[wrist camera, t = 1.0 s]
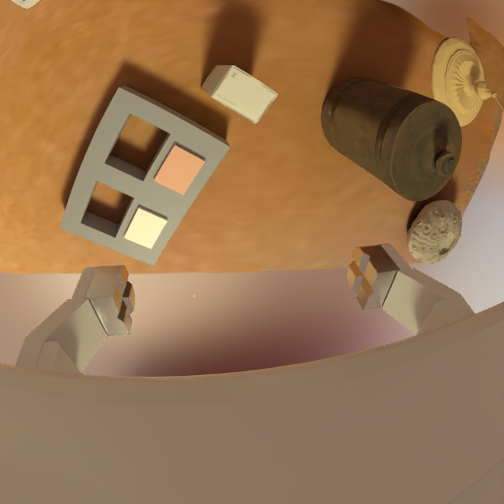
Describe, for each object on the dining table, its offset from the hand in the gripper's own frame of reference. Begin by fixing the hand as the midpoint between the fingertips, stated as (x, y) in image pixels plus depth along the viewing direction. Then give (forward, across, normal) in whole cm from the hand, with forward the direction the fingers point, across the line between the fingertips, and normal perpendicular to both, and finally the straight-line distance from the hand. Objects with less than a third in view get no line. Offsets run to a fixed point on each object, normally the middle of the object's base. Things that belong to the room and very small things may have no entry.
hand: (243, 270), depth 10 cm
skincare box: (+35, -2, -4) cm, 36 cm away
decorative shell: (+41, -53, +24) cm, 71 cm away
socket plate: (+34, +12, +9) cm, 38 cm away
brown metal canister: (+38, -25, 0) cm, 45 cm away
